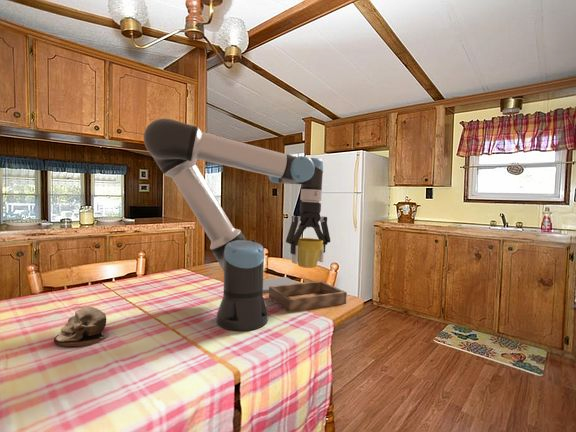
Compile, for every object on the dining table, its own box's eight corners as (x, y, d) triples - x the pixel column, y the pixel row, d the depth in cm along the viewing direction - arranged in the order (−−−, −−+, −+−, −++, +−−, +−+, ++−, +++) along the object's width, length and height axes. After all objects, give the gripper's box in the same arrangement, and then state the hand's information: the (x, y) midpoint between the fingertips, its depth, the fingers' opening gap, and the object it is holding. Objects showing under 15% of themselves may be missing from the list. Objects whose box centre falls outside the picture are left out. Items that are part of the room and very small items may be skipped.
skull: (55, 351, 70) (52, 309, 75) (55, 365, 77) (52, 326, 81) (115, 336, 78) (108, 298, 82) (110, 350, 84) (104, 315, 89)
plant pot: (321, 264, 118) (322, 238, 118) (321, 270, 108) (323, 242, 108) (294, 262, 119) (295, 236, 119) (292, 268, 109) (293, 240, 109)
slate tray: (262, 293, 121) (262, 290, 121) (249, 283, 134) (249, 280, 134) (302, 288, 129) (302, 285, 129) (286, 279, 142) (286, 276, 142)
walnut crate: (289, 312, 102) (289, 300, 102) (268, 297, 116) (269, 286, 116) (346, 303, 113) (346, 292, 112) (321, 290, 127) (321, 280, 127)
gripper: (287, 200, 104) (284, 266, 105) (342, 203, 114) (339, 262, 116) (277, 200, 110) (275, 261, 112) (330, 202, 121) (327, 258, 122)
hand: (307, 262), depth 114 cm, fingers closed on plant pot, 10 cm apart
